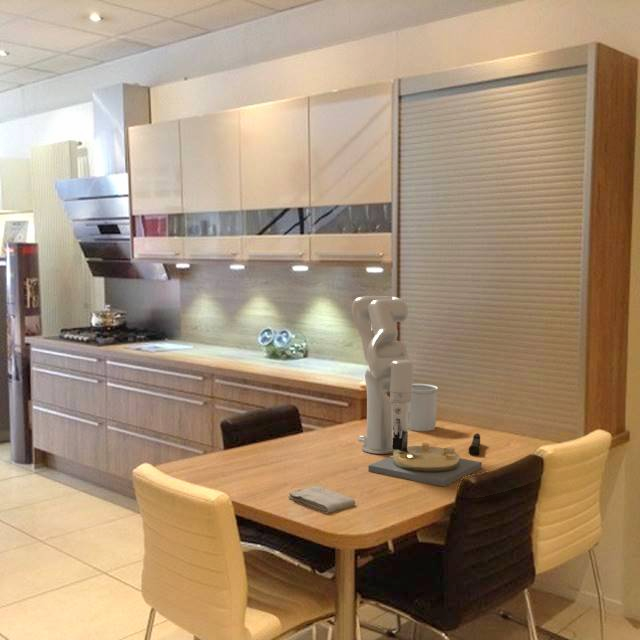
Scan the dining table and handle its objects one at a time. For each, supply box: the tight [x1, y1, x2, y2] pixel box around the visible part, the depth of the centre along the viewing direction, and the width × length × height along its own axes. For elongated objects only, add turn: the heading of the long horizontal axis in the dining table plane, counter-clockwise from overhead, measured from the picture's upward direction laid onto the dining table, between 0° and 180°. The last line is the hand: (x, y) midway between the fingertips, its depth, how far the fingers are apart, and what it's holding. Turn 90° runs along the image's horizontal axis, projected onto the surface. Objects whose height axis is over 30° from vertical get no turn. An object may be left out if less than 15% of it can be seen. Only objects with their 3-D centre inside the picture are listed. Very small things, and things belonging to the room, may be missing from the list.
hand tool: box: [468, 432, 481, 456], centre depth 289 cm, size 19×4×5 cm, turn 162°
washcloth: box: [288, 485, 356, 514], centre depth 225 cm, size 12×18×3 cm, turn 43°
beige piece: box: [392, 430, 460, 472], centre depth 260 cm, size 22×22×9 cm
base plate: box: [367, 455, 483, 487], centre depth 261 cm, size 28×28×2 cm
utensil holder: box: [407, 383, 439, 432], centre depth 324 cm, size 15×15×18 cm
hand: (399, 446), depth 263 cm, fingers open, 9 cm apart
